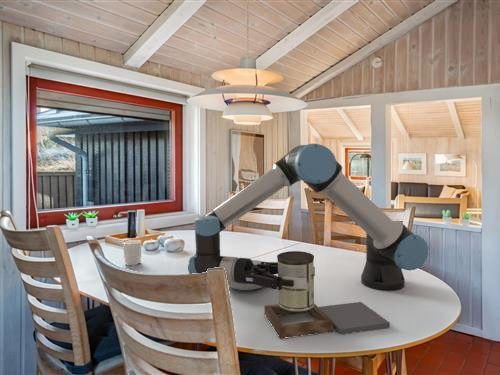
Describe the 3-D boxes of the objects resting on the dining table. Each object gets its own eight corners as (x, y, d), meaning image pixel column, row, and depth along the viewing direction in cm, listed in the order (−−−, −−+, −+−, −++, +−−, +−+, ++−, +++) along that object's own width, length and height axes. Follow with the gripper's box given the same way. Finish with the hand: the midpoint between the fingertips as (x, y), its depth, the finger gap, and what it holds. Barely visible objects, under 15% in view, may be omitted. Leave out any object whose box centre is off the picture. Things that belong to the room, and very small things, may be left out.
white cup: (136, 266, 163) (135, 244, 162) (120, 265, 165) (119, 243, 164) (145, 261, 171) (144, 240, 170) (129, 260, 172) (128, 239, 171)
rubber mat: (360, 306, 116) (360, 301, 116) (389, 327, 102) (389, 322, 102) (316, 311, 113) (316, 307, 113) (339, 334, 98) (339, 329, 98)
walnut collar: (311, 309, 115) (310, 300, 114) (332, 331, 100) (332, 321, 100) (264, 315, 111) (264, 305, 111) (280, 339, 97) (280, 328, 96)
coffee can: (276, 297, 110) (275, 251, 109) (310, 296, 110) (310, 250, 109) (280, 312, 100) (279, 261, 99) (318, 311, 100) (317, 260, 99)
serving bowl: (212, 295, 128) (211, 276, 127) (224, 275, 148) (224, 259, 148) (272, 297, 125) (272, 277, 124) (276, 277, 146) (276, 260, 145)
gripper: (251, 271, 122) (318, 277, 114) (221, 295, 101) (301, 306, 93) (250, 248, 121) (318, 253, 113) (220, 269, 100) (301, 277, 92)
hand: (310, 277), depth 103 cm, fingers closed on coffee can, 10 cm apart
